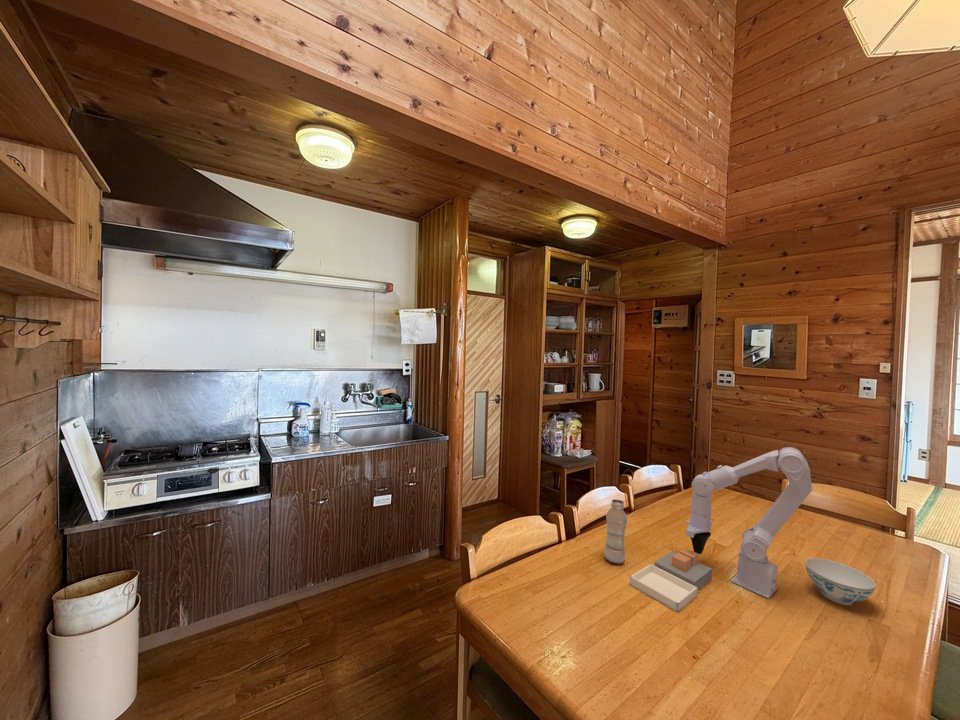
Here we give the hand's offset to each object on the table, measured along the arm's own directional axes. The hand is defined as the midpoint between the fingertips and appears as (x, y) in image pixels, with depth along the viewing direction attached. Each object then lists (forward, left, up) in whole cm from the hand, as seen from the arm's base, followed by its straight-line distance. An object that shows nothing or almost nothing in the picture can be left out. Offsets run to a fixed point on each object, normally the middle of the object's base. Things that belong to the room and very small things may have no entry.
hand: (697, 552), depth 124 cm
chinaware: (-31, -19, -5) cm, 37 cm away
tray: (0, +23, -4) cm, 23 cm away
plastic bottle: (+17, +21, -5) cm, 28 cm away
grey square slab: (0, +10, -4) cm, 11 cm away
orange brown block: (0, +7, -1) cm, 7 cm away
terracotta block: (0, +12, -1) cm, 12 cm away
